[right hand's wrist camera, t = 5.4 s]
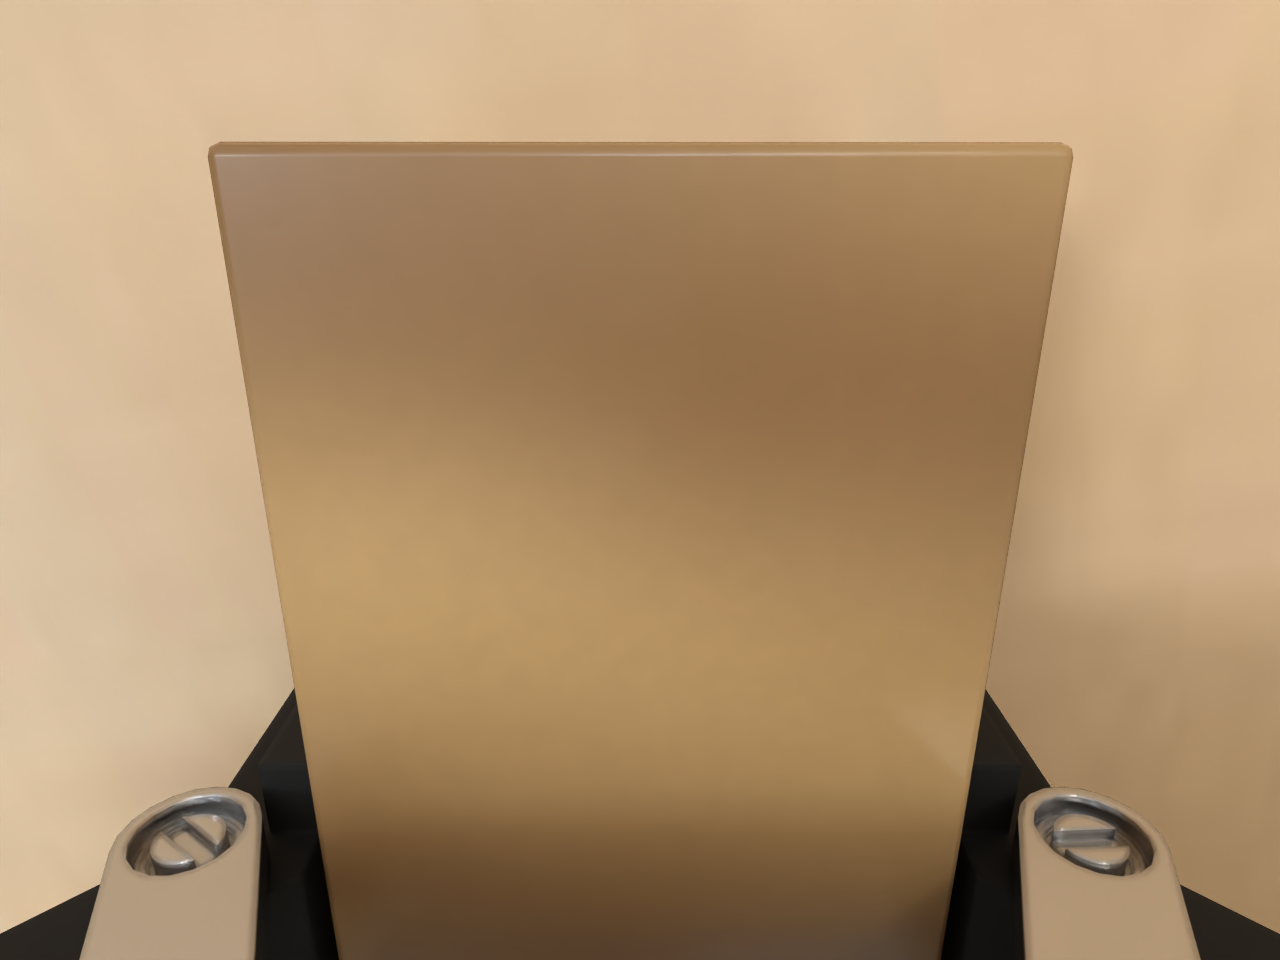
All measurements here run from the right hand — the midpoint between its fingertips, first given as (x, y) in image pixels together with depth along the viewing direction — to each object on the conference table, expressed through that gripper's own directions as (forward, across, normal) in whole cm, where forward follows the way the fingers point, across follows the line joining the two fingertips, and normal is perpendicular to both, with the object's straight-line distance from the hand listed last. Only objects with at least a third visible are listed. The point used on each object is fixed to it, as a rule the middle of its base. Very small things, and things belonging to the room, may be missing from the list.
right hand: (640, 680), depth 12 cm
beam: (+2, 0, -18) cm, 18 cm away
